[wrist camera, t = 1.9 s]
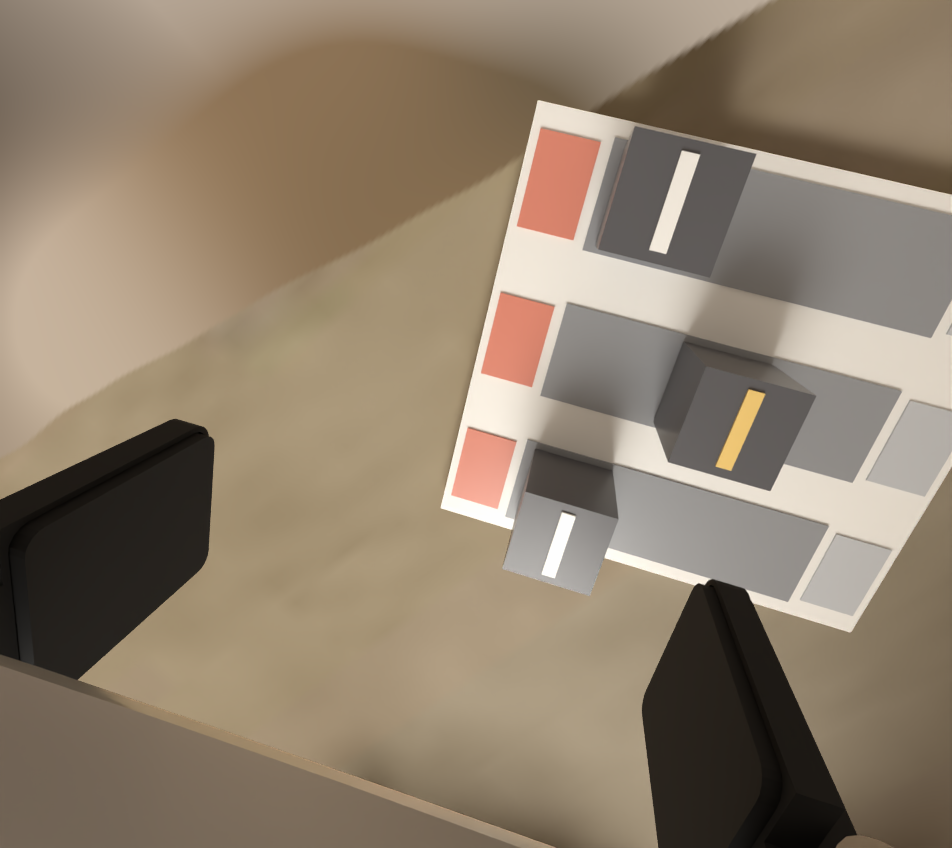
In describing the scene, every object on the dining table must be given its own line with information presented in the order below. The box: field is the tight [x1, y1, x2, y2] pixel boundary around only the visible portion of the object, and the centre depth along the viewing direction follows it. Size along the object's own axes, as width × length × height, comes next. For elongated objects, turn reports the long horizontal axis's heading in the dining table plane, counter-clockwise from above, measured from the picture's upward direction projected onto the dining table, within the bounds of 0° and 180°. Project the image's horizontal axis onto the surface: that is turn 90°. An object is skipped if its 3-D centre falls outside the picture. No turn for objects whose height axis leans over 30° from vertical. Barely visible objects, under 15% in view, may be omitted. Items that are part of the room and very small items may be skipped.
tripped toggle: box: [653, 341, 816, 491], centre depth 23 cm, size 4×4×5 cm
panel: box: [441, 100, 952, 633], centre depth 24 cm, size 22×20×6 cm
